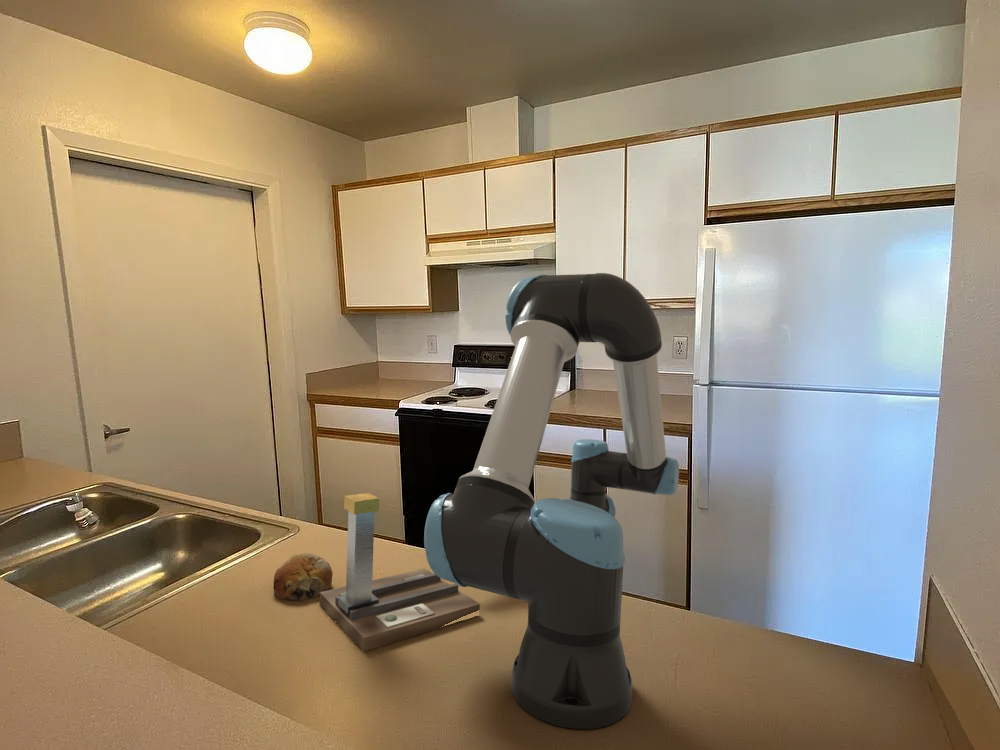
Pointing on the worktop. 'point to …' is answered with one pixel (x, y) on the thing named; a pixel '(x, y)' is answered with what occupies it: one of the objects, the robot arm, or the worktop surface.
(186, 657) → the worktop surface
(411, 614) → the switch board
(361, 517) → the lever
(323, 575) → the bread roll
